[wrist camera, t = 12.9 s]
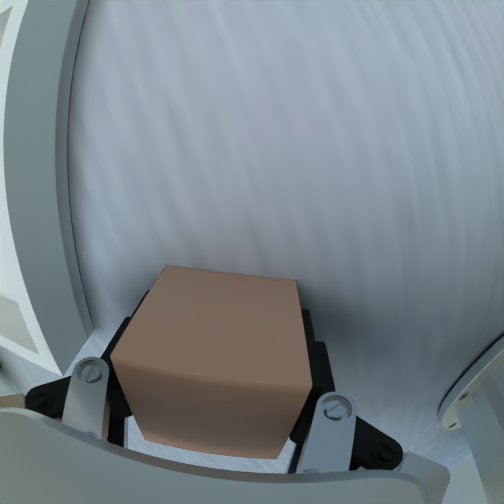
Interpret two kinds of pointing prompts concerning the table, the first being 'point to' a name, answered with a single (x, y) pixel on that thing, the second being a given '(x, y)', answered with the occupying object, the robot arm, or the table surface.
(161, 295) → the terracotta block
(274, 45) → the table surface
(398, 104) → the table surface
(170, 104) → the table surface
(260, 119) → the table surface
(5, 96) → the tray
